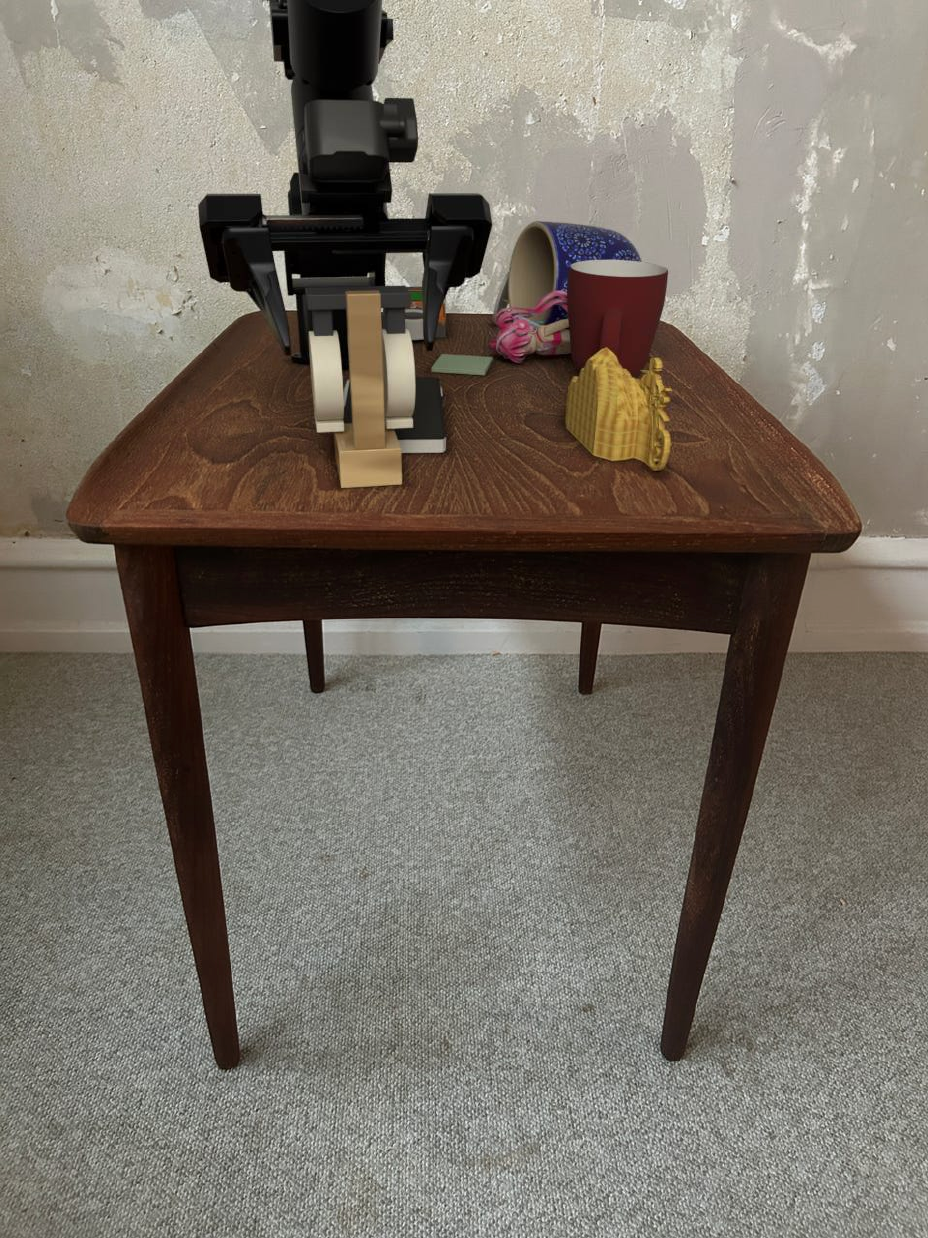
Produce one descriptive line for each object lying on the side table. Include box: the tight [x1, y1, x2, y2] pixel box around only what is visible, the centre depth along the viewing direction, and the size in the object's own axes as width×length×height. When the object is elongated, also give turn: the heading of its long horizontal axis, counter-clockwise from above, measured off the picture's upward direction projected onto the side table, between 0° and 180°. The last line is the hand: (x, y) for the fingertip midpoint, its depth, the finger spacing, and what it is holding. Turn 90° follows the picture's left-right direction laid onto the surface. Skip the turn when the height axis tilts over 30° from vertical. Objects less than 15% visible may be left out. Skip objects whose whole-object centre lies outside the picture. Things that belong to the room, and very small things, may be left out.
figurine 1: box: [492, 271, 510, 326], centre depth 94 cm, size 6×6×8 cm
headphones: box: [305, 285, 416, 433], centre depth 57 cm, size 6×6×9 cm
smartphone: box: [343, 376, 447, 454], centre depth 68 cm, size 8×1×15 cm
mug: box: [567, 260, 669, 379], centre depth 73 cm, size 10×8×10 cm
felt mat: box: [430, 353, 494, 376], centre depth 82 cm, size 5×5×1 cm
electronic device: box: [381, 285, 447, 341], centre depth 95 cm, size 7×3×15 cm
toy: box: [486, 290, 571, 364], centre depth 83 cm, size 7×6×15 cm
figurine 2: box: [564, 347, 673, 472], centre depth 62 cm, size 4×12×7 cm, turn 13°
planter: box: [508, 220, 643, 330], centre depth 89 cm, size 11×11×11 cm
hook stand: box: [333, 290, 403, 489], centre depth 56 cm, size 6×4×12 cm, turn 11°
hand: (360, 349), depth 56 cm, fingers open, 9 cm apart
